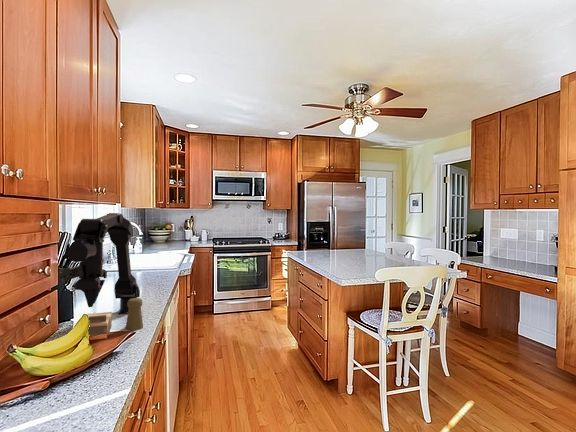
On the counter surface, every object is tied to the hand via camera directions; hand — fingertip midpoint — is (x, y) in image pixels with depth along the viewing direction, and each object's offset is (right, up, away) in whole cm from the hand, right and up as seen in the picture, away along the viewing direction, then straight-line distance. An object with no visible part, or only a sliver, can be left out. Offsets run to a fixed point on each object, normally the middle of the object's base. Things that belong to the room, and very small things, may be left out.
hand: (91, 305), depth 103 cm
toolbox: (-4, -13, +9) cm, 16 cm away
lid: (-4, -8, +9) cm, 13 cm away
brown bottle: (+6, -13, +16) cm, 22 cm away
